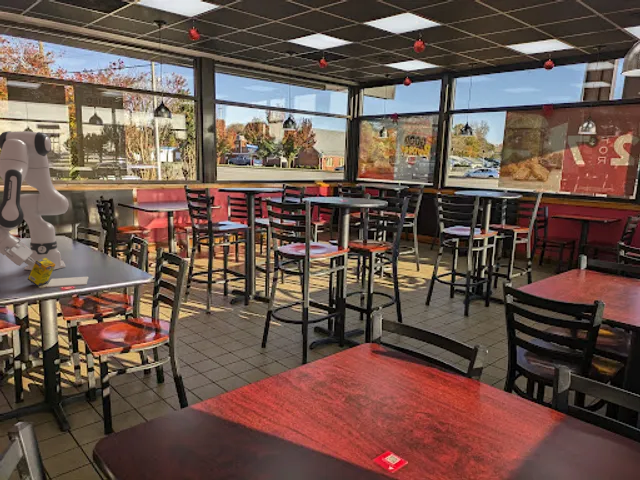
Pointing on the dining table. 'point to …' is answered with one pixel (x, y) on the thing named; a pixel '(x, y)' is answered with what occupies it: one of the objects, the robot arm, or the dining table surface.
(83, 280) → the mat
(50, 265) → the supplement box
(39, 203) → the robot arm
